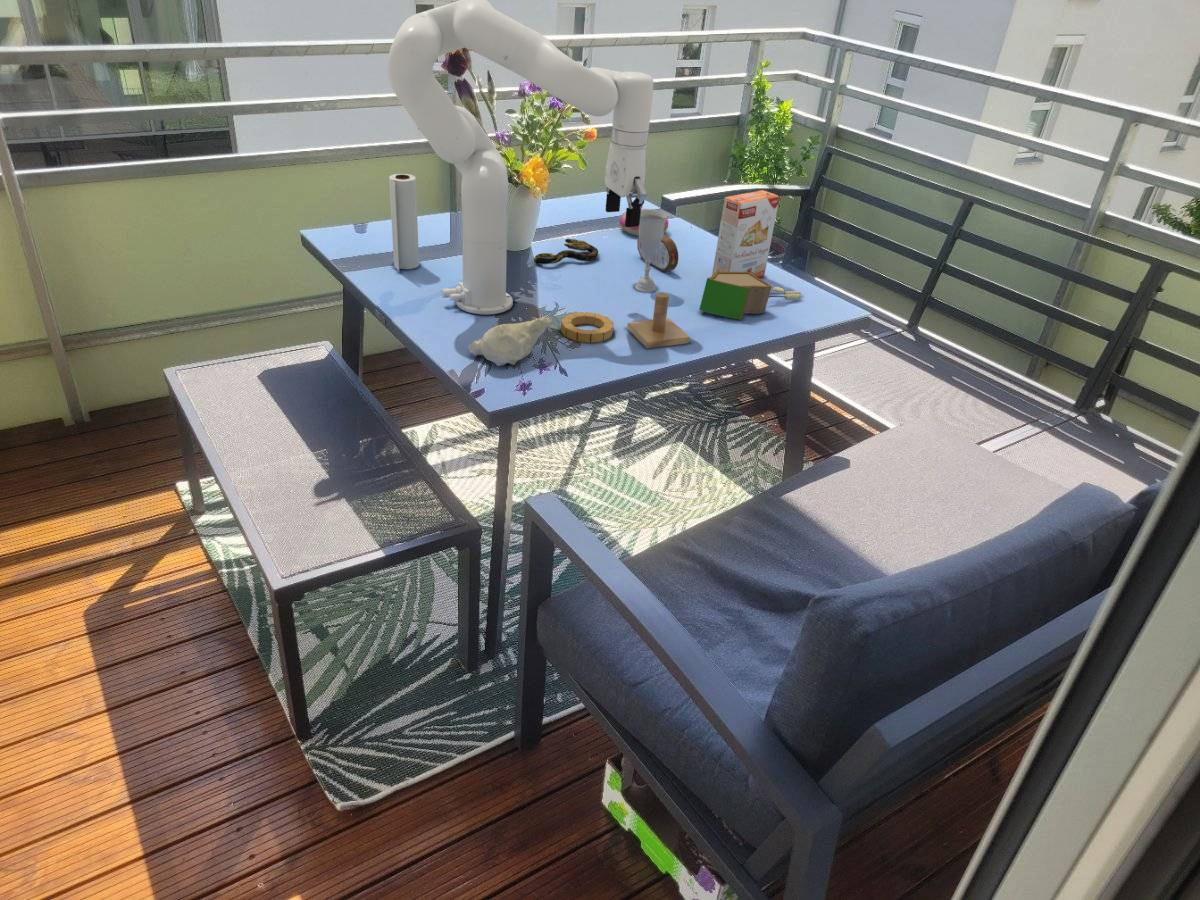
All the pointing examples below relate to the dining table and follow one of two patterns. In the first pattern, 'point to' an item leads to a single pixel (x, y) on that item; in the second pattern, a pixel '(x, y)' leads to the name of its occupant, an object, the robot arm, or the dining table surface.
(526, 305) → the dining table surface
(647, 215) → the chalice
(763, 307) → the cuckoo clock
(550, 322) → the conch shell
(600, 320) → the ring
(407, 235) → the paper towel roll
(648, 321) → the stand
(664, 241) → the tin
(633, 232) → the donut
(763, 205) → the cracker box
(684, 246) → the dining table surface
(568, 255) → the toy snake
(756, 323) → the dining table surface
